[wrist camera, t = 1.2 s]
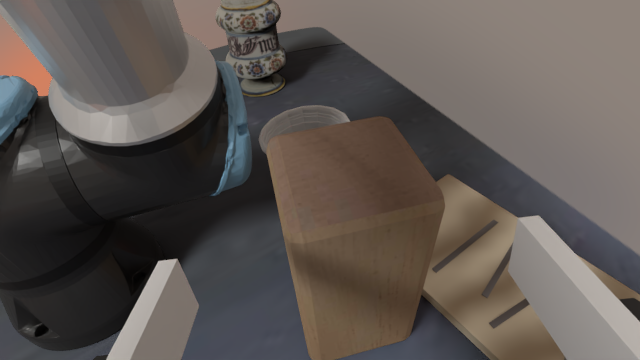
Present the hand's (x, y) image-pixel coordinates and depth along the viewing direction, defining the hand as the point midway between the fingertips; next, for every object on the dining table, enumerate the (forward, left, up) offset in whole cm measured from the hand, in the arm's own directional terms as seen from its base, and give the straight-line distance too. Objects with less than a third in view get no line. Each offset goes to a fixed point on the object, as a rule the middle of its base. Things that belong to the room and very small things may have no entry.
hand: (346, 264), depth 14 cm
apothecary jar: (-57, +23, -23) cm, 65 cm away
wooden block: (-8, +6, -23) cm, 25 cm away
